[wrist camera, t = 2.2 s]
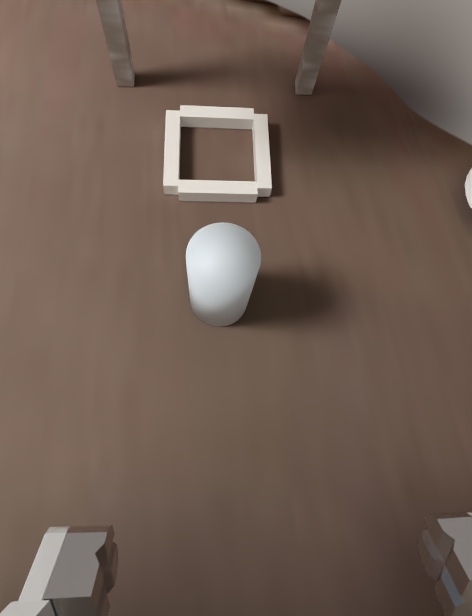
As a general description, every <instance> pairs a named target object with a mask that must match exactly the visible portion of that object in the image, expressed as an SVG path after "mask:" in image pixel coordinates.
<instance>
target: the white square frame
mask: <svg viewBox="0 0 472 616" xmlns="http://www.w3.org/2000/svg"><path fill="white" fill-rule="evenodd" d="M181 127H200V128H226V129H252V132H253V153H254V174H255V182H249V181H212V180H180V138H181ZM163 187H164V193H165V194H172V195H179V201H205V202H250V203H256V200H257V197H270V193H271V190H272V182H271V166H270V150H269V134H268V118H267V114H254V109H253V108H232V107H209V106H185V105H180V111H173V110H166V125H165V152H164V179H163Z"/></svg>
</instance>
